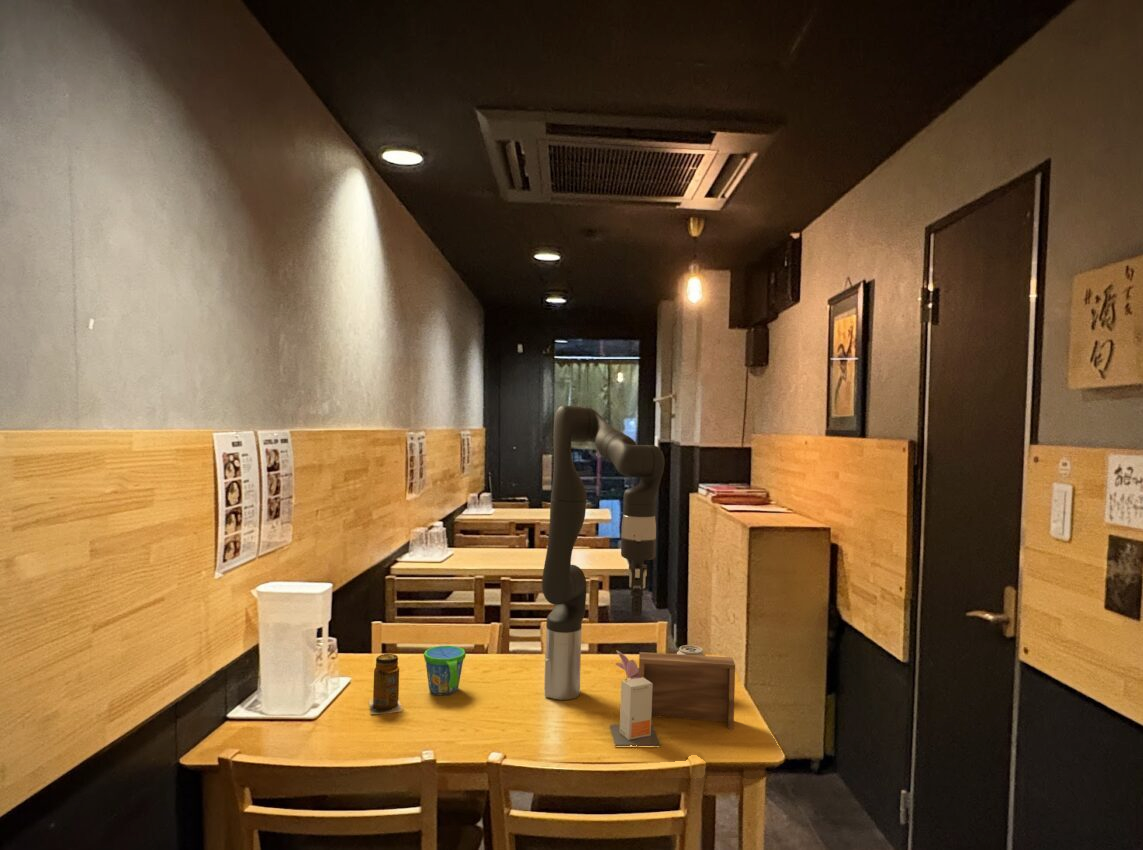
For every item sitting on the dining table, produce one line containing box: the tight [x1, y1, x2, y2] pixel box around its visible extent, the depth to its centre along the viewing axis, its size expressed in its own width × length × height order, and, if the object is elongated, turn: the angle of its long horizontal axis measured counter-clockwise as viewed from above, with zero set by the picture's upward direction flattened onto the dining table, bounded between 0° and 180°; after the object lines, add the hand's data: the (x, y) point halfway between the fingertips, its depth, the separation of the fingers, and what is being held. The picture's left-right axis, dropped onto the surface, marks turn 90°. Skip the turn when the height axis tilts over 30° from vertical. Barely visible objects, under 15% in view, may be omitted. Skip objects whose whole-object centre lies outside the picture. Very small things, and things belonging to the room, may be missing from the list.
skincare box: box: [619, 677, 653, 740], centre depth 152 cm, size 6×4×12 cm
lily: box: [615, 649, 639, 681], centre depth 181 cm, size 12×12×10 cm
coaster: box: [609, 723, 661, 747], centre depth 152 cm, size 10×10×1 cm
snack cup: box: [423, 645, 466, 696], centre depth 176 cm, size 16×11×10 cm
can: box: [676, 644, 706, 656], centre depth 179 cm, size 8×8×12 cm
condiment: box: [368, 653, 403, 715], centre depth 165 cm, size 7×8×12 cm
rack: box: [638, 651, 736, 730], centre depth 162 cm, size 5×22×15 cm, turn 84°
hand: (636, 609), depth 148 cm, fingers open, 8 cm apart
